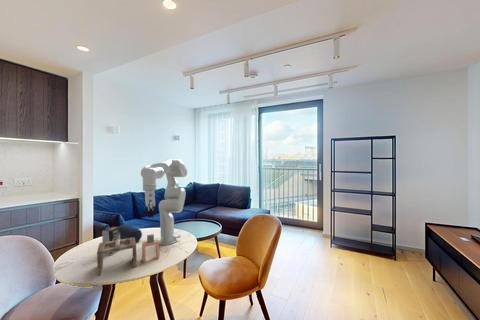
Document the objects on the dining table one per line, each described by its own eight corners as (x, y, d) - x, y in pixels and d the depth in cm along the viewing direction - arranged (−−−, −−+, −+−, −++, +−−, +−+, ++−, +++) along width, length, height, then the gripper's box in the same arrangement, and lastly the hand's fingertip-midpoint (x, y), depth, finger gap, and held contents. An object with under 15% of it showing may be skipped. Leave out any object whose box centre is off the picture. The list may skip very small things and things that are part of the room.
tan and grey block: (158, 255, 141) (157, 233, 141) (159, 258, 138) (158, 235, 138) (142, 259, 137) (141, 235, 137) (142, 261, 133) (142, 237, 133)
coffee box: (110, 255, 142) (110, 231, 142) (102, 255, 144) (101, 230, 143) (121, 249, 151) (120, 226, 151) (112, 249, 152) (112, 226, 152)
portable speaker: (144, 240, 167) (144, 227, 167) (131, 245, 159) (131, 231, 158) (126, 234, 181) (125, 222, 180) (113, 238, 172) (113, 226, 172)
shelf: (135, 257, 140) (134, 235, 139) (136, 267, 127) (136, 243, 127) (100, 264, 131) (99, 241, 130) (97, 275, 118) (97, 250, 118)
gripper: (157, 189, 131) (158, 217, 131) (154, 185, 146) (154, 211, 146) (144, 190, 127) (144, 219, 127) (141, 186, 142) (142, 212, 143)
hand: (149, 215), depth 137 cm, fingers open, 9 cm apart
